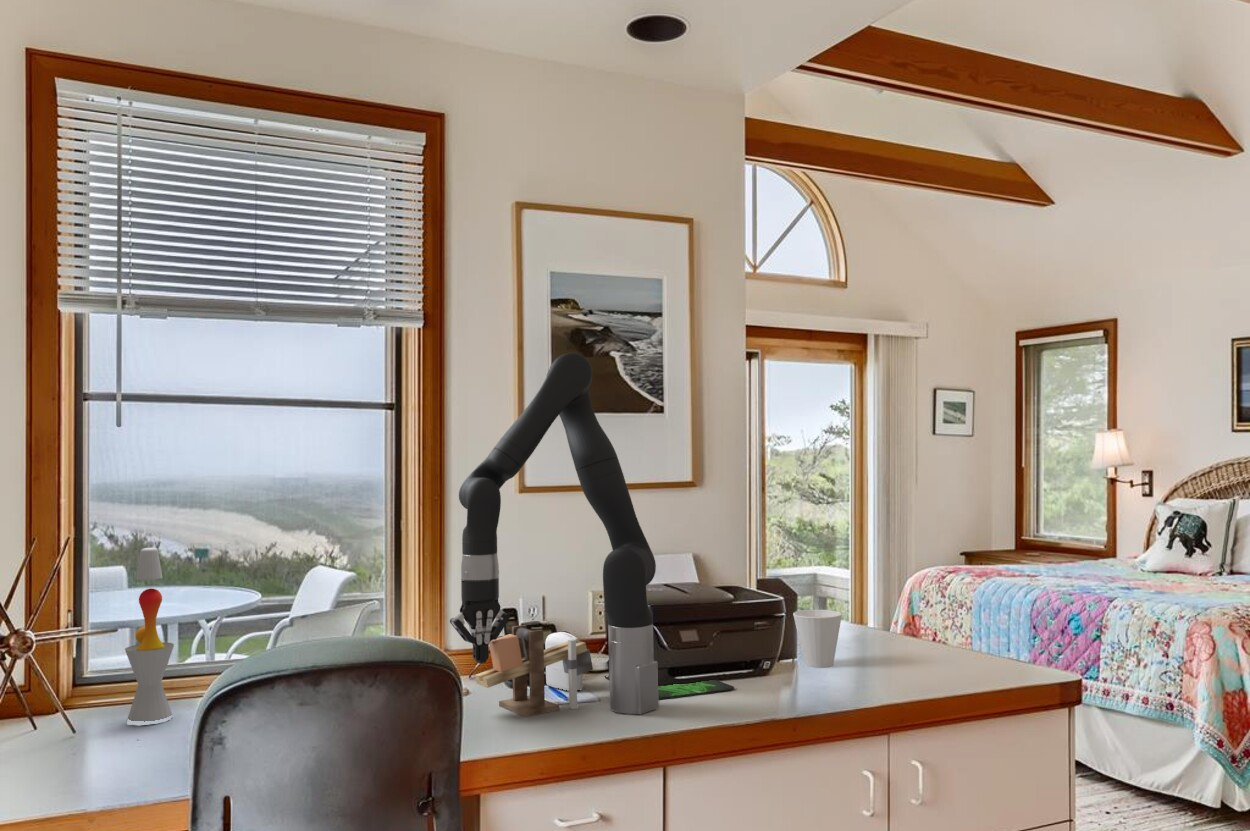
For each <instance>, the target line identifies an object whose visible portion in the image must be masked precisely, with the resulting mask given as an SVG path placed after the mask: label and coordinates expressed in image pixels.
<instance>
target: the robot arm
mask: <svg viewBox="0 0 1250 831" xmlns="http://www.w3.org/2000/svg"><path fill="white" fill-rule="evenodd" d="M547 370H548V371H547V374H546V378H545V379H544V382H543V383H542V385H541V387H540V388H539V390H538V391H537V393H536V394H535V396H534V397H533V398H532V400H531V401H530V403H529V404H528V405H527V407H526V408H525V409H524V410H523V411H522V412H521V414H520V415H519V416H518V417H517V418H516V420H515V421H513V424H511V426H510V427H509V428H508V429H507V431H506V432H505V433H504V434H503V435H502V437H501V438H500V439H499V441H498V442H497V443H496V444H495V446H494V447H493V448H492V450H491V452H489V454H488V455H487V457H485V459H484V460H483V461H482V462H481V463H479V465H478V466H476V468H475V469H474V470H473V471H472V472H471V473H469V475H467V477H466V478H465V479H464V481H463V482H462V484H461V486H460V487H459V491H458V500H459V502H460V505H461V506H462V507H463V508H464V509H466V510H467V511H466V526H465V527H464V528H463V530H462V539H461V541H462V542H461V546H462V550H461V553H462V556H461V557H462V558H461V564H460V565H461V567H460V572H461V574H460V577H461V578H460V579H461V580H460V582H461V584H460V585H461V586H460V589H461V592H460V593H461V606H460V608H459V613H458V614H457V615H456V616H455V617H452V618H450V620H449V624H451V626H452V627H453V629H454V630H455V631H456V632H457V633H458V635H459V636H460V637H461V639H463V641H464V642H468V643H470V644H472V659H473V660H474V662H475V663H477V664H485V663H487V661H488V660H489V658H490V656H489V655H490V654H489V652H490V646H489V642H490V641H492V640H496V639H497V638H499V637H500V634H501V633H502V631H503V630H504V629H505V626H506V624H507V623H508V622H509V620H510V618H511V614H510V613H507V612H505V611H504V610H503V609H501V605H500V602H499V597H500V583H499V582H500V578H499V577H500V567H499V558H498V532H497V530H498V527H499V520H500V515H501V505H502V502H501V501H502V499H501V498H502V497H501V496H502V495H501V491H500V489H501V488H502V487H503V486H504V484H505V483H506V482H507V481H509V480H510V479H512V478H514V477H515V476H516V475H517V474H518V473H519V471H520V470H521V469H522V467H523V466H524V465H525V464H526V463H527V461H528V459H530V457H531V456H532V455H533V453H534V452H535V450H536V449H537V447H538V446H539V444H540V442H541V441H542V440H543V438H544V436H545V435H546V434H547V432H548V430H549V428H550V427H551V426H552V424H553V423H554V422H555V420H556V419H557V418H558V416H559V417H560V419H561V422H562V426H563V427H564V430H565V434H566V439H567V444H568V446H569V450H570V454H571V457H572V458H571V459H572V461H573V465H574V469H575V471H576V474H577V478H578V480H579V484H580V486H581V490H582V492H583V494H584V496H585V498H586V500H587V501H588V503H589V505H590V506H591V508H592V509H593V511H594V512H595V513H596V515H597V516H598V518H599V519H600V521H601V522H602V525H603V526H604V528H605V530H606V532H607V533H606V534H607V537H608V539H609V541H610V542H609V543H610V545H611V550H612V551H611V552H609V553H608V555H607V556H606V557H605V560H604V562H603V567H602V586H603V604H604V609H605V613H606V615H607V628H608V629H607V630H608V672H609V673H608V675H609V680H608V682H609V709H610V710H611V711H612V712H614V713H619V714H636V715H643V714H645V713H648V712H651V711H654V710H657V709H659V708H660V704H659V703H660V702H659V701H660V700H659V696H658V669H659V665H658V664H659V663H658V661H657V660H654V620H653V619H654V616H653V610H652V609H651V608H650V607H649V604H648V599H647V598H648V597H647V586H648V585H649V584H650V583H651V582H652V581H653V579H654V578H655V575H656V569H657V564H656V560H655V556H654V554H653V551H652V549H651V547H650V544H649V543H648V540H647V538H646V536H645V534H644V532H643V530H642V527H641V525H640V522H639V520H638V517H637V515H636V511H635V508H634V504H633V501H632V498H631V495H630V492H629V489H628V485H627V482H626V480H625V475H624V473H623V469H622V467H621V463H620V459H619V458H618V455H617V452H616V450H615V448H614V446H613V444H612V442H611V440H610V438H609V437H608V435H607V433H606V432H605V431H604V429H603V427H602V426H601V424H600V423H599V421H598V419H597V417H596V416H597V415H596V414H595V410H594V407H593V403H592V399H591V395H590V390H589V387H590V386H591V384H592V380H593V367H592V365H591V362H590V361H589V360H588V358H586V357H585V355H582V354H580V353H578V352H567V353H563V354H562V355H561V354H560V355H559V356H558V357H557V358H555V359H554V361H552V363H551V365H550V366H549V369H547ZM465 622H466V623H467V625H468V626H469V630H468V628H466V626H465Z"/></svg>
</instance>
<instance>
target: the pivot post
mask: <svg viewBox="0 0 1250 831" xmlns="http://www.w3.org/2000/svg"><path fill="white" fill-rule="evenodd" d="M518 628H526V629H527V625H525V624H523V625H521V624H520V625H514V626H511V634H512V635H516V631H517V629H518ZM544 638H545V637H544V630H543V629H536V630H533V631H529V673H526V674H524V675H521V676H518V677H516V678H513V679H512V698H508V699H503V700H499V701H498V707H501V708H503V709H505V710H509V711H510V712H513V713H515V714H518V715H520V716H522V717H529V716H531V717H532V716H536V715H540V714H546V713H551V711H552V712H556V711H555V710H557V711H560V705H559V704H557V703H555V702H552V701H549V700H547V699H545V697H546V696H545V692H546V691H545V667H544V650H545V649H544V648H545V642H544V640H545V639H544ZM518 640H519V646H520V652H521V657H522V658H523V657H525V654H524V649H523V643H522V640H521V639H518ZM528 674H529V695H528Z"/></svg>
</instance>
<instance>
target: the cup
mask: <svg viewBox="0 0 1250 831" xmlns="http://www.w3.org/2000/svg"><path fill="white" fill-rule="evenodd" d="M792 615H793V618H794V619H793V620H794V623H795V627H796V632H797V636H798V641H799V645H800V649H801V653H802V654H801V655H802V658H803V662H804V666H806V667H809V668H815V669H817V668H819V669H821V668H823V669H825V668H830V667H833V666H834V662H835V656H836V651H837V645H838V639H839V633H840V628H841V622H842V618H843V613H842V612H840V611H837V610H833V609H832V610H830V609H801V610H796V611H794V612H793V614H792Z"/></svg>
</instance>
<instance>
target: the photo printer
mask: <svg viewBox="0 0 1250 831" xmlns="http://www.w3.org/2000/svg"><path fill="white" fill-rule="evenodd" d="M571 639H574V640H577V642H578V643H579V642H581V641H580V639H579V638H577V636H575V635H573V634H571V633H570V632H569V633H568V632H564V631H558V632H552V633H550V634H548V635H547V636H546V639H545V642H544V648H545V649H548V648H551V647H554V646H556V645H559V644H562V643H565V642H567V641H568V640H571ZM545 649H544V650H545ZM583 680H584V679H583V674H580V675H578V676H577V690H580V689H581V690H582V689H583V688H584V683H583ZM545 682H546V685H547V686H549V687H552V688H556V689H558V688H559V690H562V689H563V690H562V691H566V690H567V692H569V674H568V673H565V672H564V667H563V661H562V660H561V661H559V662H556V663H553V664H551V665H548V666H545ZM581 690H580V691H581Z"/></svg>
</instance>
